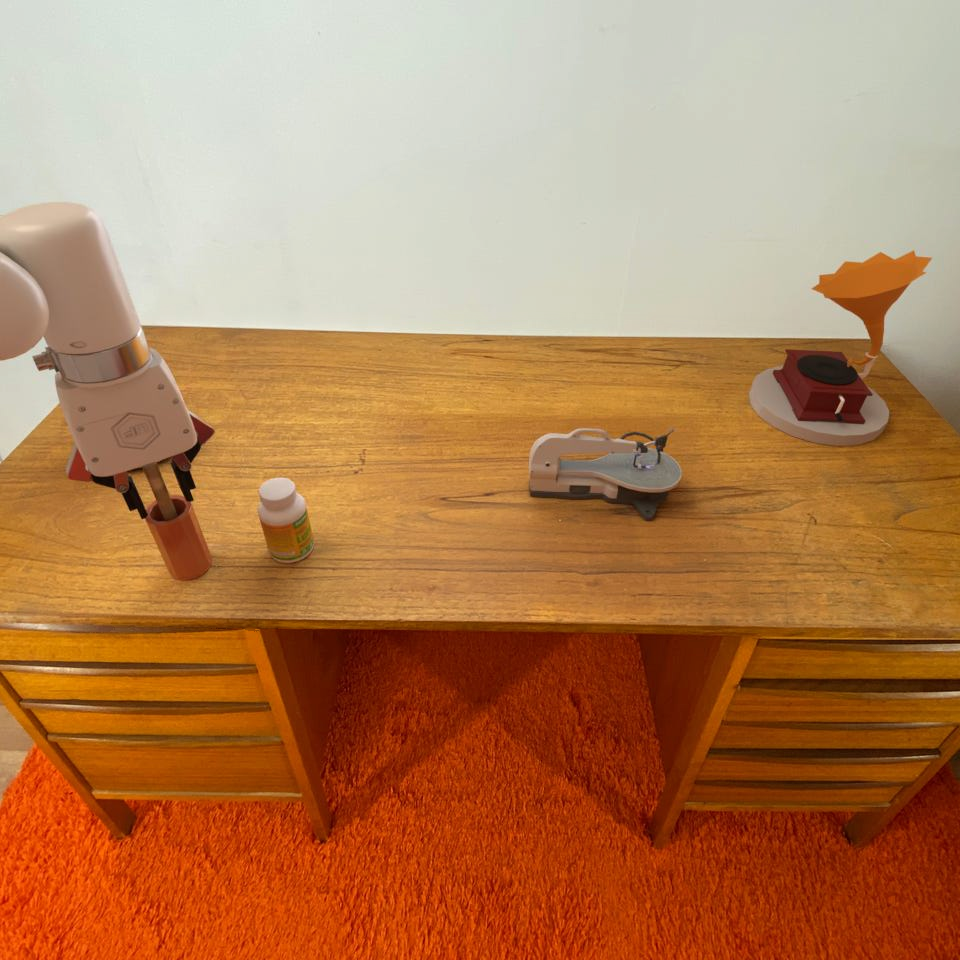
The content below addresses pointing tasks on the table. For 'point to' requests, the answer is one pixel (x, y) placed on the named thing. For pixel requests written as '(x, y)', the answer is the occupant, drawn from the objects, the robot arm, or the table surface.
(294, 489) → the supplement bottle
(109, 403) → the robot arm
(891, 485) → the table surface
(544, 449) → the jigsaw machine
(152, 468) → the stick
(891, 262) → the gramophone
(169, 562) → the utensil pot
